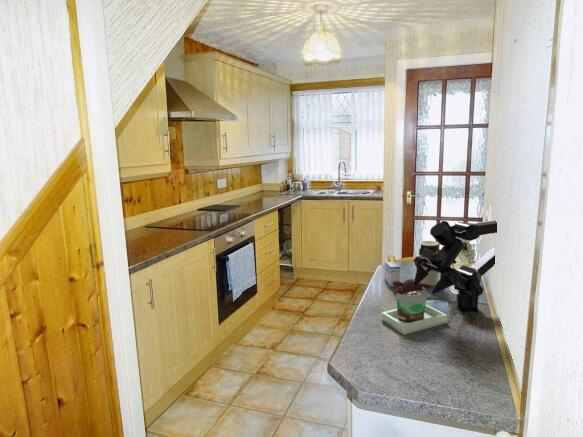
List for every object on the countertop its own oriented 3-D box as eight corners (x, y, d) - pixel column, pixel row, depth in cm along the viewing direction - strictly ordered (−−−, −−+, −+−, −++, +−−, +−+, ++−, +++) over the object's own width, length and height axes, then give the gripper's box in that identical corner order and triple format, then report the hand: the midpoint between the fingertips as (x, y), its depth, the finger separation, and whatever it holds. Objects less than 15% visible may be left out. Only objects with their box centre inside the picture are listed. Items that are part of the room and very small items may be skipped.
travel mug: (417, 280, 185) (417, 240, 181) (436, 280, 184) (437, 240, 180) (420, 286, 177) (420, 245, 174) (439, 286, 176) (441, 245, 172)
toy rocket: (429, 276, 170) (391, 279, 173) (432, 278, 163) (392, 280, 166) (431, 293, 170) (393, 296, 173) (434, 296, 163) (394, 298, 165)
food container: (406, 327, 139) (407, 298, 137) (394, 320, 144) (395, 292, 143) (435, 319, 144) (436, 291, 142) (423, 313, 149) (423, 286, 147)
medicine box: (384, 280, 186) (384, 261, 184) (394, 280, 186) (394, 261, 185) (390, 286, 178) (390, 267, 177) (400, 286, 179) (400, 266, 177)
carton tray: (422, 310, 154) (422, 302, 153) (447, 323, 143) (447, 314, 142) (381, 320, 147) (381, 312, 146) (403, 334, 136) (403, 326, 135)
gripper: (417, 234, 151) (392, 268, 149) (457, 245, 134) (429, 284, 132) (434, 252, 156) (410, 285, 154) (474, 265, 139) (448, 303, 137)
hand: (423, 289), depth 144 cm, fingers open, 9 cm apart
